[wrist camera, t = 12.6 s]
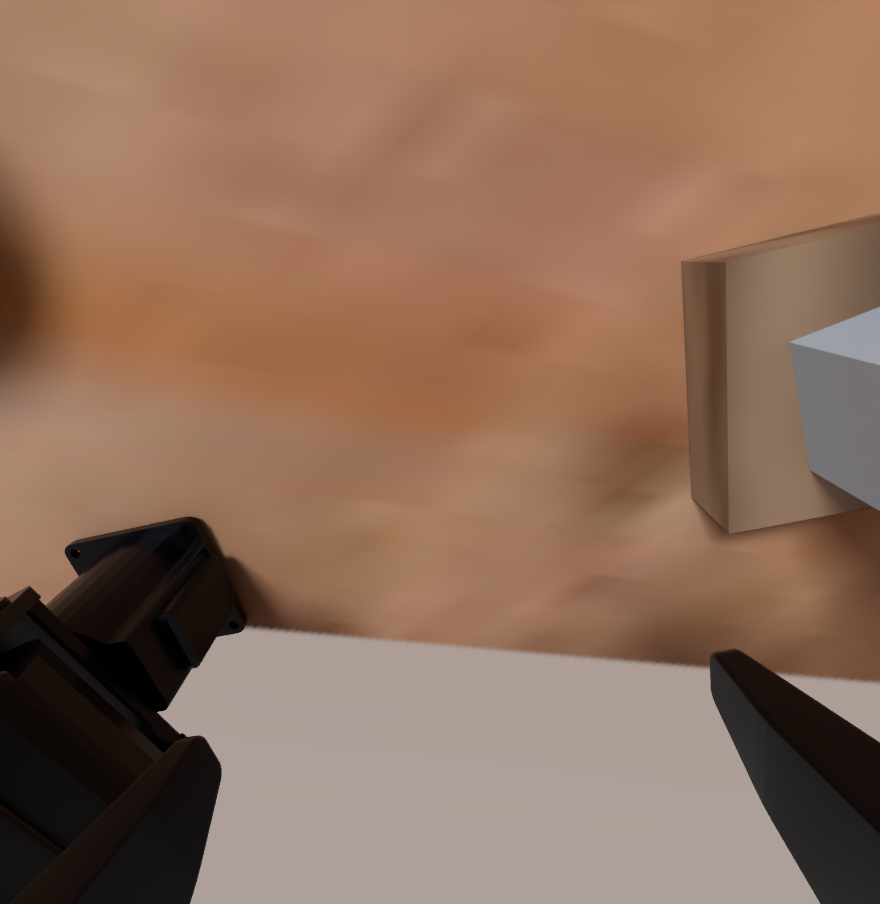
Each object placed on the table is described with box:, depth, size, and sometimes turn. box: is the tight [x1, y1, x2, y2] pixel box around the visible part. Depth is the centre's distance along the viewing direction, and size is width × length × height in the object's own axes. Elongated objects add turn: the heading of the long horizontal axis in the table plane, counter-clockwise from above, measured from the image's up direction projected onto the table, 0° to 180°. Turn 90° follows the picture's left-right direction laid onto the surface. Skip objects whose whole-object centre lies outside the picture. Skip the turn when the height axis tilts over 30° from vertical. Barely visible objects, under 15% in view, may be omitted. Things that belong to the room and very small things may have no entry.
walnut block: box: [682, 213, 880, 534], centre depth 18 cm, size 10×10×3 cm
